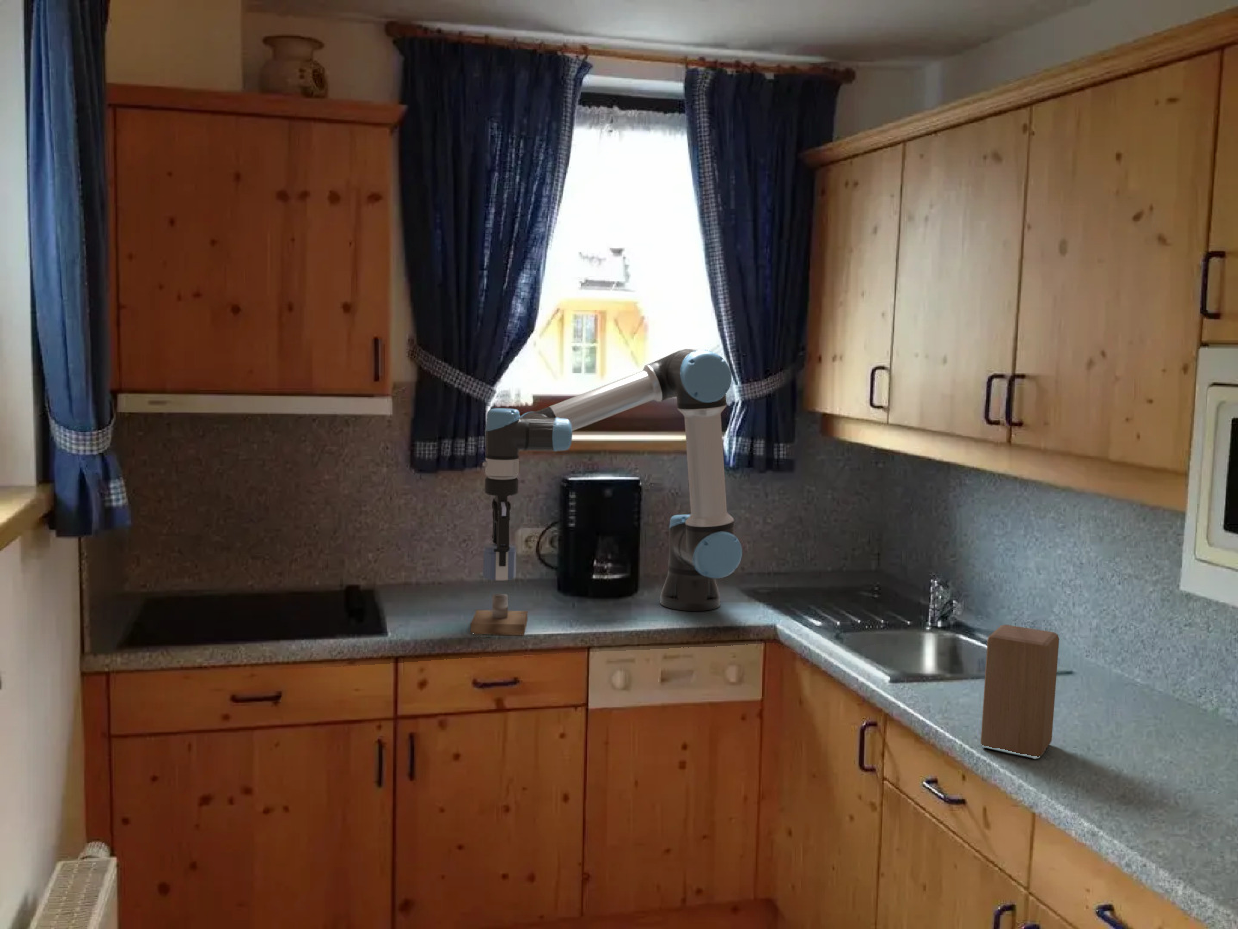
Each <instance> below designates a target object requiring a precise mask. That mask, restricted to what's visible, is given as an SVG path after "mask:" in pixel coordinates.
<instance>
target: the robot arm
mask: <svg viewBox="0 0 1238 929" xmlns="http://www.w3.org/2000/svg"><path fill="white" fill-rule="evenodd" d="M731 385H732V372H731V368H730V366H729V364H728V362H727V361H726V360H725V358H723V357H722V356H721V355H720V354H718V353H716V352H713V351H711V350H708V349H691V348H689V349H688V348H686V349H680V350H677V351H675V352H672V353H670V354H669V355H667V356H664V357H662V358H659V359H657V360H654V361H653V362H651V363H648V364H645V365H644V367H643V369H642V370H641V371H638V372H636V373H632V374H631V375H628V376H625V377H623V378H620V379H617V380H615V381H612V382H610V383H607V384H604V385H602V386H599V387H597V388H594V389H591V390H589V391H586V392H584V393H581V394H578V395H576V396H572V397H571V398H567V399H565V400H562V401H561V402H557V403H555V404H552V405H550V406H547V407H545V408H542V409H539V410H537V411H528V412H525V413H523V414H522V415H520V411H519V410H518V409H516V408H505V407H504V408H501V407H500V408H499V407H498V408H490V409H489V410H488V411H487V413H486V422H485V428H484V430H485V461H484V462H482V466H483V467H485V469H484V470H485V472H484V473H485V474H484V475H485V476H487V477H486V478H484V493H485V494H486V495H489V496H493V498H492V501H491V509H492V514H491V515H492V535H491V539H492V544H497V548H496V549H494V552H496V579H495V580H494V581H502V580H503V581H509V580H508V551H509V549H510V547H509V545H510V520H511V518H510V517H511V514H510V513H511V512H510V511H511V509H512V507H511V505H512V504H511V502H510V501H509V499H508V497H509V496H516V495H517V494H518V493H519V478H517V477H518V476H520V475H519V473H520V472H519V470H520V466H519V465H520V463H519V462H520V458H519V457H520V456H519V455H520V451H521V452H527V451H530V452H531V451H534V452H538V451H541V452H544V451H545V452H561V451H569V449H570V448H571V446H572V440H573V431H576V430H578V429H581V428H584V427H587V426H590V425H592V424H594V423H597V422H599V421H601V420H604V419H607V418H610V417H612V416H614V415H617V414H619V413H622V412H625V411H627V410H630V409H633V408H635V407H638V406H640V405H644V404H647V403H649V402H652V401H656V402H658V403H660V402H663V401H666V400H668V399H672V398H673V399H674V398H676V404H677V405H676V406H677V407H676V408H677V410H678V411H679V412H680V413H681V414H682V415H683V417H684V429H685V443H686V444H685V447H686V457H687V472H688V473H687V474H688V488H689V503H690V514H676V515H675V514H674V515H673V516H671V517H670V520H669V526H668V564H667V566H668V568H667V569H668V572H667V575H666V578H665V582H664V584H663V587H662V589H661V592H660V600H659V601H660V602H659V603H660V605H661V606H663V607H665V608H668V609H672V610H677V611H689V612H698V611H699V612H701V611H703V612H704V611H710V610H714V609H718V608H719V607H720V606H721V595H720V590H719V587H718V585H717V581H716V580H717V579H722V578H725V577H728V576H730V575H731V574H732V573H734V572H735V571H736V569H737V568H738V567H739V565H740V563H741V561H742V557H743V547H742V544H741V542H740V540H739V539H738V537H737V536H735V534H736V532H735V523H734V522H735V520H734V517H733V516H731V515H730V514H729V513H728V510H727V509H728V508H727V495H726V494H727V493H726V478H725V477H726V476H725V466H724V465H725V464H724V463H725V462H724V448H723V446H724V445H723V432H722V431H723V430H722V416H721V415H722V412H723V411H724V409H726V408H727V393H728V391H729V390H730V388H731Z"/></svg>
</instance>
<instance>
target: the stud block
mask: <svg viewBox="0 0 1238 929" xmlns="http://www.w3.org/2000/svg"><path fill="white" fill-rule="evenodd" d="M491 598H492V600H491V602H492V603H491V604H492V607H491V610H490V609H489V610H488V609H486V610H485V609H483V610H482V609H476V610H475V613H474V615H473V618H472V620H471V622H470V634H471V633H474V634H473V635H482V634H493V635H494V636H525V633H526V630H527V625H528V613H529V612H528V611H527V610H508V608H509V604H508V603H509V602H508V598H509V596H508V595H507V594H505V593H504V594H503V593H497V594H493V595H492V597H491ZM493 635H492V636H493Z"/></svg>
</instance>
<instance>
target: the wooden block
mask: <svg viewBox="0 0 1238 929" xmlns="http://www.w3.org/2000/svg"><path fill="white" fill-rule="evenodd" d="M986 643H987V644H986V658H985V669H984V670H985V672H984V673H985V674H984V686H983V689H984V690H983V704H982V715H981V716H982V717H981V719H982V720H981V732H980V745H981V744H982V745H984V746H989V747H992V748H1000V749H1005V750H1008V751H1012V752H1016V753H1020V754H1027V755H1031V756H1037V757H1039V756H1041V755H1042V754H1043V755H1044V753H1045V752H1046V751H1047V749H1048V747H1049V746H1050V744H1051V743H1052V740H1053V729H1054V728H1053V727H1054V726H1053V725H1054V714H1055V713H1054V712H1055V703H1056V702H1055V700H1056V687H1057V676H1058V675H1057V673H1058V660H1059V647H1060V638H1059V634H1058V633H1057V632H1055V631H1048V630H1044V629H1043V630H1041V629H1038V628H1037V629H1036V628H1028V627H1023V626H1018V625H1017V626H1016V625H1009V624H1003V625H1000V626H999V627H998V628H996V630H995V631H993V632H992V633H991V634H989V635H988V638H987V642H986ZM982 745H981V746H982ZM1048 745H1049V746H1048ZM1046 748H1047V749H1046ZM1044 751H1045V752H1044ZM1043 755H1042V756H1043ZM1042 756H1041V757H1042Z"/></svg>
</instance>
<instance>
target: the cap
mask: <svg viewBox="0 0 1238 929" xmlns="http://www.w3.org/2000/svg"><path fill="white" fill-rule="evenodd" d="M509 547H510V549H509V551H508V580H507V581H509V580H510V581H511V580H514V579H515V578H516V576H517V572H516V571H517V546H516V545H513V544H509ZM496 548H497V544H495V543H491V544H486V545H484V546H483V568H482V569H483V570H482V578H484V579H487V580H490V581H496V580H495V579H496V552H494V549H496ZM501 581H504V580H501Z"/></svg>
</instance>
